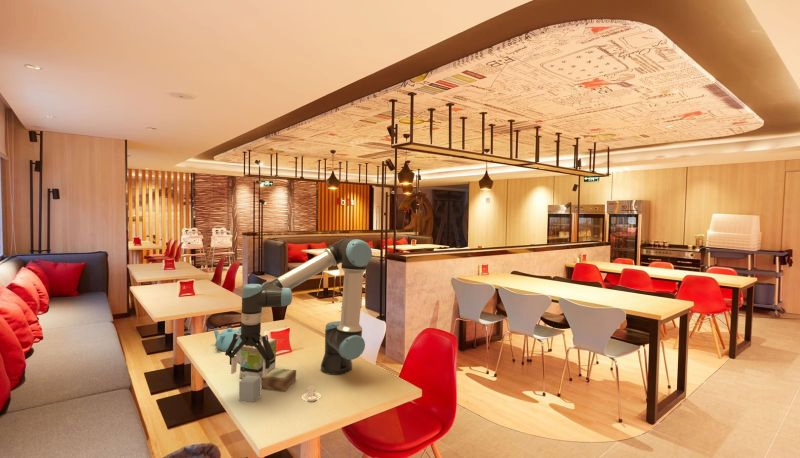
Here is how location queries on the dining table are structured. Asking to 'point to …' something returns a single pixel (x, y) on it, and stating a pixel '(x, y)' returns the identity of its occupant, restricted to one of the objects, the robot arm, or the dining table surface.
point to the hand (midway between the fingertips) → (249, 374)
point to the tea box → (255, 360)
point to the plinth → (278, 379)
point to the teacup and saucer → (311, 394)
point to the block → (249, 388)
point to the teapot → (226, 338)
